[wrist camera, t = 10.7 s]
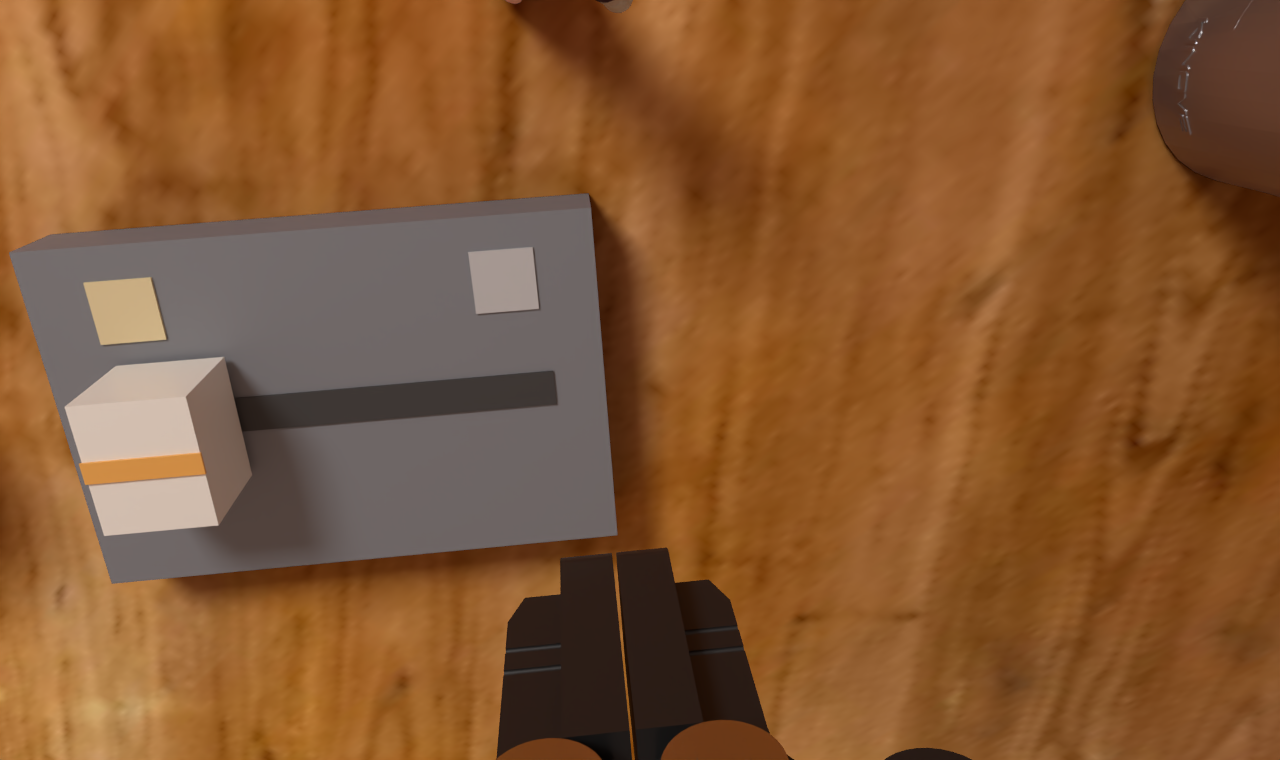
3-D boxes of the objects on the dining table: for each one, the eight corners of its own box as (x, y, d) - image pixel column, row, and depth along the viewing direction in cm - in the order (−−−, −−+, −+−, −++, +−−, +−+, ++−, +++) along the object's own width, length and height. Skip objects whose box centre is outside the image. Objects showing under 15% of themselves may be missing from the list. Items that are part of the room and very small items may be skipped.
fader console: (588, 193, 38) (591, 208, 35) (613, 501, 43) (617, 536, 40) (50, 234, 37) (7, 253, 34) (141, 545, 42) (110, 584, 39)
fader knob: (225, 356, 36) (185, 397, 32) (253, 474, 38) (219, 526, 34) (114, 366, 36) (61, 408, 32) (148, 484, 37) (101, 537, 34)
